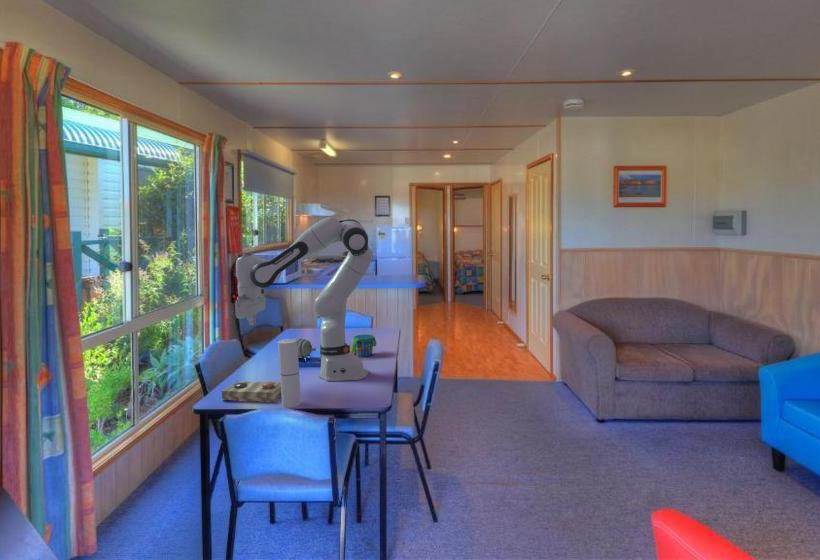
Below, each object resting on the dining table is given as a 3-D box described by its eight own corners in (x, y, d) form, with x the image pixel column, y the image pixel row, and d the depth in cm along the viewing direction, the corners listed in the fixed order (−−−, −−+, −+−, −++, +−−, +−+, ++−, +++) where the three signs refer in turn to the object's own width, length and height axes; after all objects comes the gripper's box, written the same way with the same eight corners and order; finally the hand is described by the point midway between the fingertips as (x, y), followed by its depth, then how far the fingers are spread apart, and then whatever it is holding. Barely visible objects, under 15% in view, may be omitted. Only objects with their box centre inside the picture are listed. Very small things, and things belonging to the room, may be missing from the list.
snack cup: (369, 350, 273) (369, 332, 272) (382, 354, 265) (382, 335, 264) (346, 357, 262) (345, 337, 261) (359, 360, 254) (358, 340, 253)
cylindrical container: (283, 408, 193) (279, 344, 190) (280, 402, 199) (276, 340, 196) (302, 405, 195) (298, 341, 192) (298, 399, 202) (295, 338, 199)
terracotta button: (276, 391, 208) (275, 381, 208) (271, 395, 204) (270, 385, 203) (265, 391, 209) (264, 381, 209) (260, 395, 204) (259, 385, 204)
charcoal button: (249, 392, 210) (248, 382, 210) (243, 396, 206) (243, 386, 205) (238, 392, 211) (238, 382, 211) (232, 396, 207) (232, 386, 206)
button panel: (286, 392, 211) (285, 382, 211) (273, 402, 200) (272, 392, 199) (237, 390, 215) (237, 381, 215) (222, 400, 204) (221, 391, 203)
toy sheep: (291, 356, 267) (290, 335, 266) (321, 357, 263) (319, 336, 261) (281, 362, 257) (280, 340, 256) (312, 363, 253) (310, 341, 251)
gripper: (244, 296, 206) (247, 330, 207) (266, 289, 226) (269, 319, 227) (229, 297, 207) (233, 330, 208) (253, 289, 227) (256, 320, 228)
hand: (252, 324), depth 218 cm, fingers closed
